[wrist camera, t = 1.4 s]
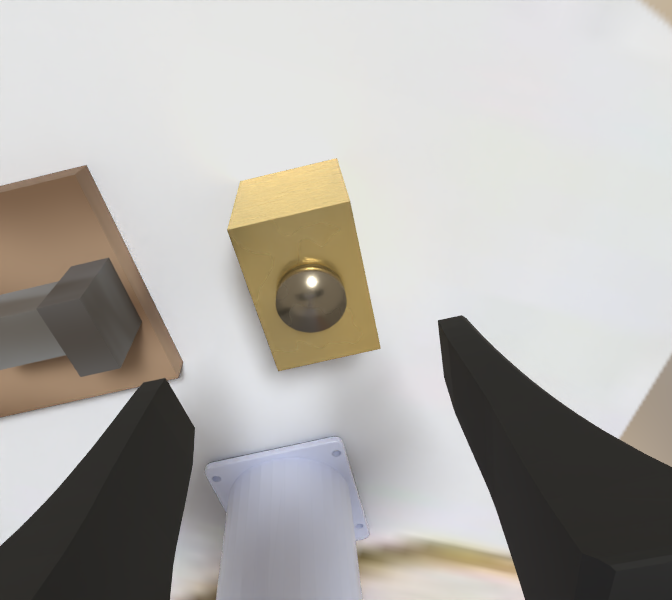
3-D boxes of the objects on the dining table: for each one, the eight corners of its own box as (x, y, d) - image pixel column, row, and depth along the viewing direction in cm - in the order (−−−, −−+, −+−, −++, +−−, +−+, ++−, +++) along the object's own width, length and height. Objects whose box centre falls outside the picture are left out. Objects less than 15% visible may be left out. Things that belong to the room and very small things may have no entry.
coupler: (363, 283, 23) (383, 358, 18) (280, 302, 23) (277, 381, 18) (336, 158, 20) (352, 207, 15) (240, 180, 20) (225, 237, 15)
